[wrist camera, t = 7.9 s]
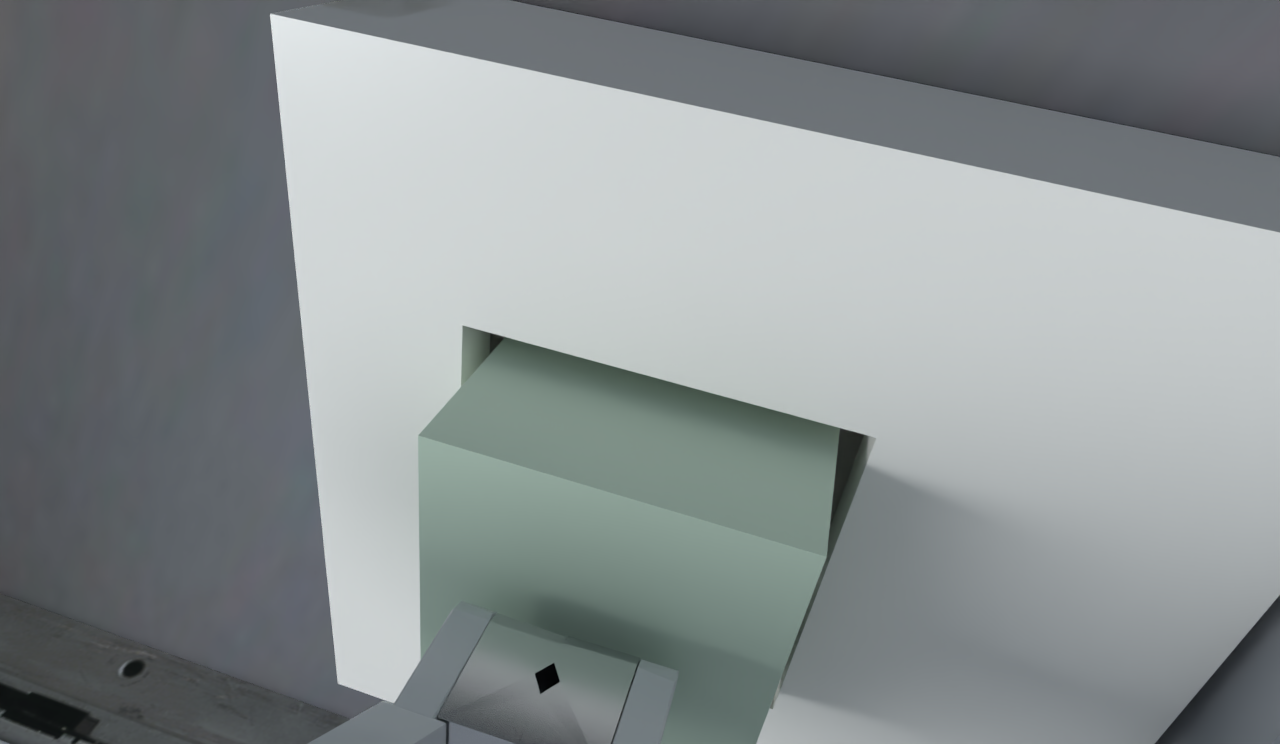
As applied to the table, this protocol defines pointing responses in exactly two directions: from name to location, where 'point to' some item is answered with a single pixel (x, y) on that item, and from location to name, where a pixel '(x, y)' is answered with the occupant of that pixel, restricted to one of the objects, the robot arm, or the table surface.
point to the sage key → (629, 523)
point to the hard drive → (129, 691)
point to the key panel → (811, 343)
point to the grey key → (1238, 694)
